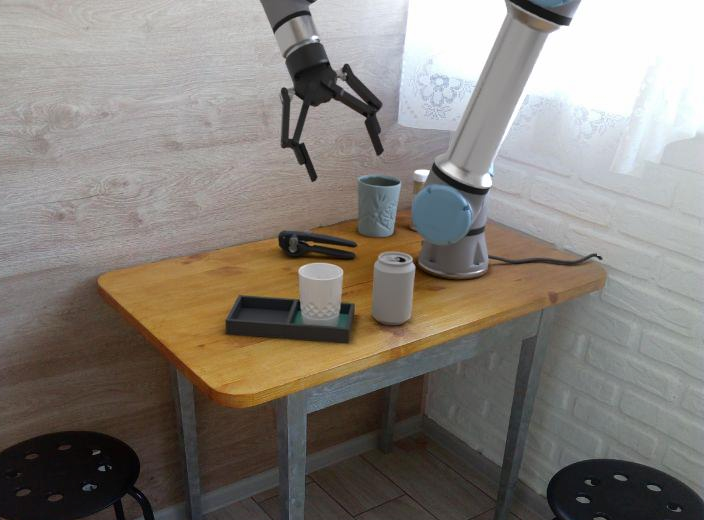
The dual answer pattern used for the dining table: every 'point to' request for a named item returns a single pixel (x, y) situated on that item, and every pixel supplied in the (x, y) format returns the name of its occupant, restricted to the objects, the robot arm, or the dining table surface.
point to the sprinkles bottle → (418, 186)
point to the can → (393, 288)
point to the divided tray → (284, 320)
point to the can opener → (297, 245)
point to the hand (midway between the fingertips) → (347, 166)
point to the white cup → (320, 293)
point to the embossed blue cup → (377, 204)
